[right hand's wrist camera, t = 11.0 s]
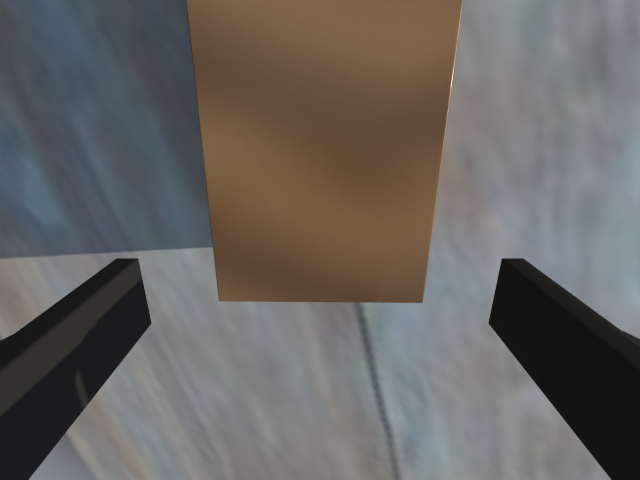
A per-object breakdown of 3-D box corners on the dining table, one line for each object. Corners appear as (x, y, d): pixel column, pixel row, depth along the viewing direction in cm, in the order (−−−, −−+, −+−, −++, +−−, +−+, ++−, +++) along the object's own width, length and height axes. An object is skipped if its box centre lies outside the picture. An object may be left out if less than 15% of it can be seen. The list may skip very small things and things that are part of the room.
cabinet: (232, -84, 20) (158, -247, 11) (415, -82, 20) (495, -242, 11) (252, 236, 28) (218, 301, 18) (388, 237, 28) (422, 303, 18)
